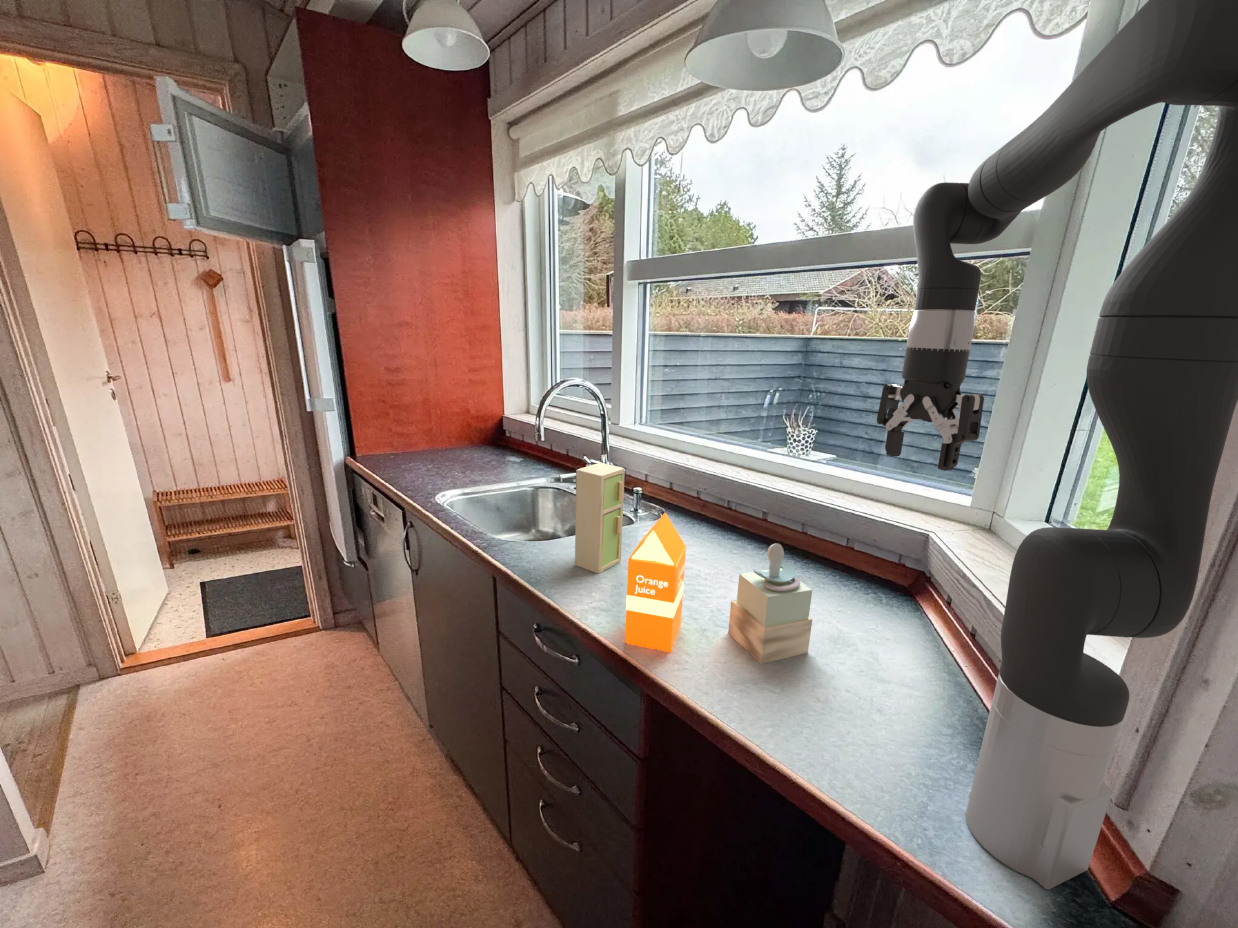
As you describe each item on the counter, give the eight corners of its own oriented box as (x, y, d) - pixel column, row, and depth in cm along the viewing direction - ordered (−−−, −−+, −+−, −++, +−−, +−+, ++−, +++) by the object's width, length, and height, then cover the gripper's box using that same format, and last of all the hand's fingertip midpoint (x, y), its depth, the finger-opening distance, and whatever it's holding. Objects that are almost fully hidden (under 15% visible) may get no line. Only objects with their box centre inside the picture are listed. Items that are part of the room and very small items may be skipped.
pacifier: (808, 587, 84) (780, 571, 89) (814, 551, 82) (785, 536, 87) (774, 597, 80) (746, 580, 85) (779, 559, 79) (751, 543, 84)
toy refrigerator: (601, 575, 110) (603, 475, 104) (573, 565, 114) (575, 469, 109) (624, 562, 116) (628, 468, 111) (597, 553, 120) (600, 462, 115)
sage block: (808, 618, 84) (812, 589, 83) (764, 626, 82) (767, 596, 80) (777, 595, 92) (781, 567, 90) (736, 601, 89) (739, 573, 88)
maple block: (807, 652, 86) (812, 618, 84) (760, 663, 83) (764, 629, 81) (772, 623, 94) (776, 592, 92) (728, 633, 91) (731, 600, 89)
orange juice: (681, 624, 93) (689, 514, 88) (671, 652, 84) (679, 533, 79) (637, 616, 95) (642, 508, 90) (623, 643, 87) (628, 526, 82)
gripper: (1010, 348, 68) (984, 473, 72) (912, 344, 81) (895, 450, 85) (968, 347, 65) (944, 477, 69) (874, 343, 78) (858, 453, 82)
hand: (917, 462), depth 77 cm, fingers open, 8 cm apart
